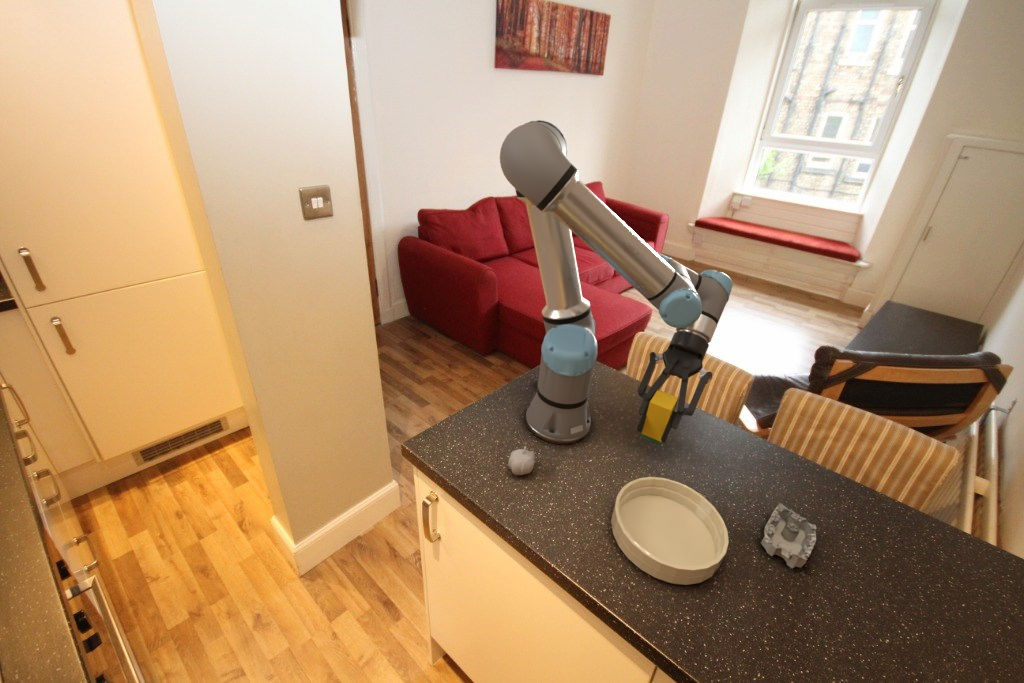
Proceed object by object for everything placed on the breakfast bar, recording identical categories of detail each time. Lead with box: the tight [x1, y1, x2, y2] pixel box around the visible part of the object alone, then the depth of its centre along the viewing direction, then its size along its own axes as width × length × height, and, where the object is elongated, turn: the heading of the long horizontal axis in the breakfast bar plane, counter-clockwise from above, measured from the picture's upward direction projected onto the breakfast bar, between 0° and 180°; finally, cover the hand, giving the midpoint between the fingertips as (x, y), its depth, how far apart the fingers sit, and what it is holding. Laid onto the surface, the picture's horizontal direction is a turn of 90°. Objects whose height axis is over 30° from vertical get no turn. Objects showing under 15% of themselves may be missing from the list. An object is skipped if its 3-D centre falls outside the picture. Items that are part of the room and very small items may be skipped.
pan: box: [610, 476, 730, 586], centre depth 80 cm, size 19×19×4 cm
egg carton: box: [760, 502, 817, 569], centre depth 80 cm, size 11×8×4 cm
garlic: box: [507, 445, 536, 476], centre depth 91 cm, size 6×5×5 cm
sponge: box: [640, 389, 679, 447], centre depth 95 cm, size 5×4×10 cm
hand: (650, 435), depth 93 cm, fingers closed on sponge, 4 cm apart
